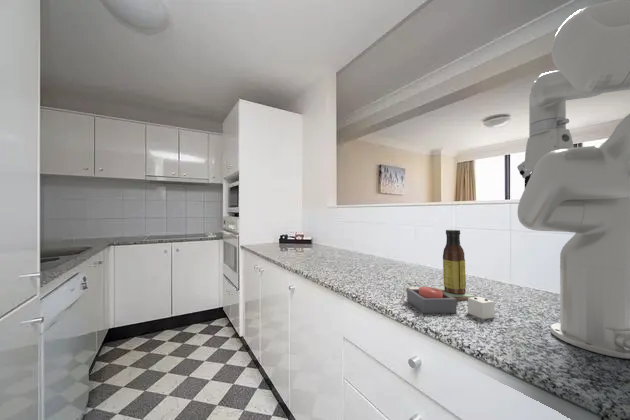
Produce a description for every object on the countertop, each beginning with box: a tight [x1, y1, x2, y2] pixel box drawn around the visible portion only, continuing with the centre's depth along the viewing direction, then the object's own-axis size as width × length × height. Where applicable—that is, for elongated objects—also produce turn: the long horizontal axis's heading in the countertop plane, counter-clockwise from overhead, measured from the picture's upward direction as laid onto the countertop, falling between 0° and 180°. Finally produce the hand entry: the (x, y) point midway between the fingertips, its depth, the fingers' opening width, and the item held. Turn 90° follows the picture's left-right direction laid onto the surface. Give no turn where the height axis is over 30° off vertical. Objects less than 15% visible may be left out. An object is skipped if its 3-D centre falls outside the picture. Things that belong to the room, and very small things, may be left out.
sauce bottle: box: [442, 229, 467, 294], centre depth 78 cm, size 6×6×20 cm
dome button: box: [419, 286, 443, 298], centre depth 68 cm, size 6×6×3 cm
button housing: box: [406, 288, 458, 314], centre depth 68 cm, size 9×9×4 cm
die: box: [467, 296, 495, 320], centre depth 62 cm, size 4×4×4 cm
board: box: [406, 286, 477, 301], centre depth 78 cm, size 10×18×1 cm, turn 95°
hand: (546, 189), depth 69 cm, fingers open, 9 cm apart
